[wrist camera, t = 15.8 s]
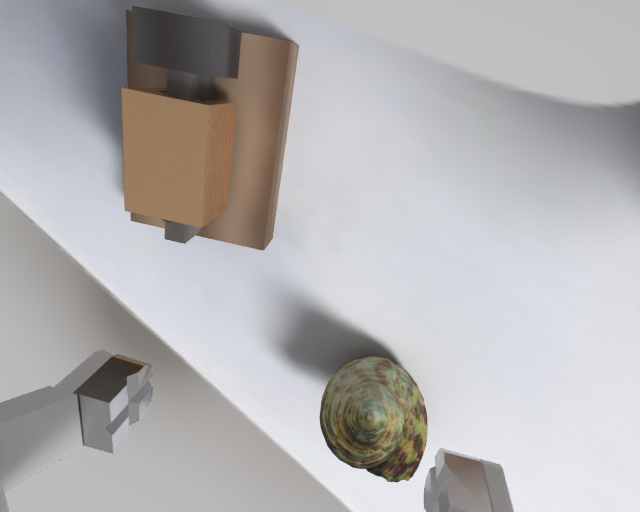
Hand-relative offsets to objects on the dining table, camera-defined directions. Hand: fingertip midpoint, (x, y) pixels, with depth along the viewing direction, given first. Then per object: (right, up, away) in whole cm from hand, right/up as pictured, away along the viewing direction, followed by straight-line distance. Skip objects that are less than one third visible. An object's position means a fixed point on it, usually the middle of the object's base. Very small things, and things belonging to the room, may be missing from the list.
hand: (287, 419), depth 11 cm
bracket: (-8, +15, +23) cm, 28 cm away
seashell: (+7, -9, +31) cm, 33 cm away
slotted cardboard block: (-8, +13, +19) cm, 25 cm away
